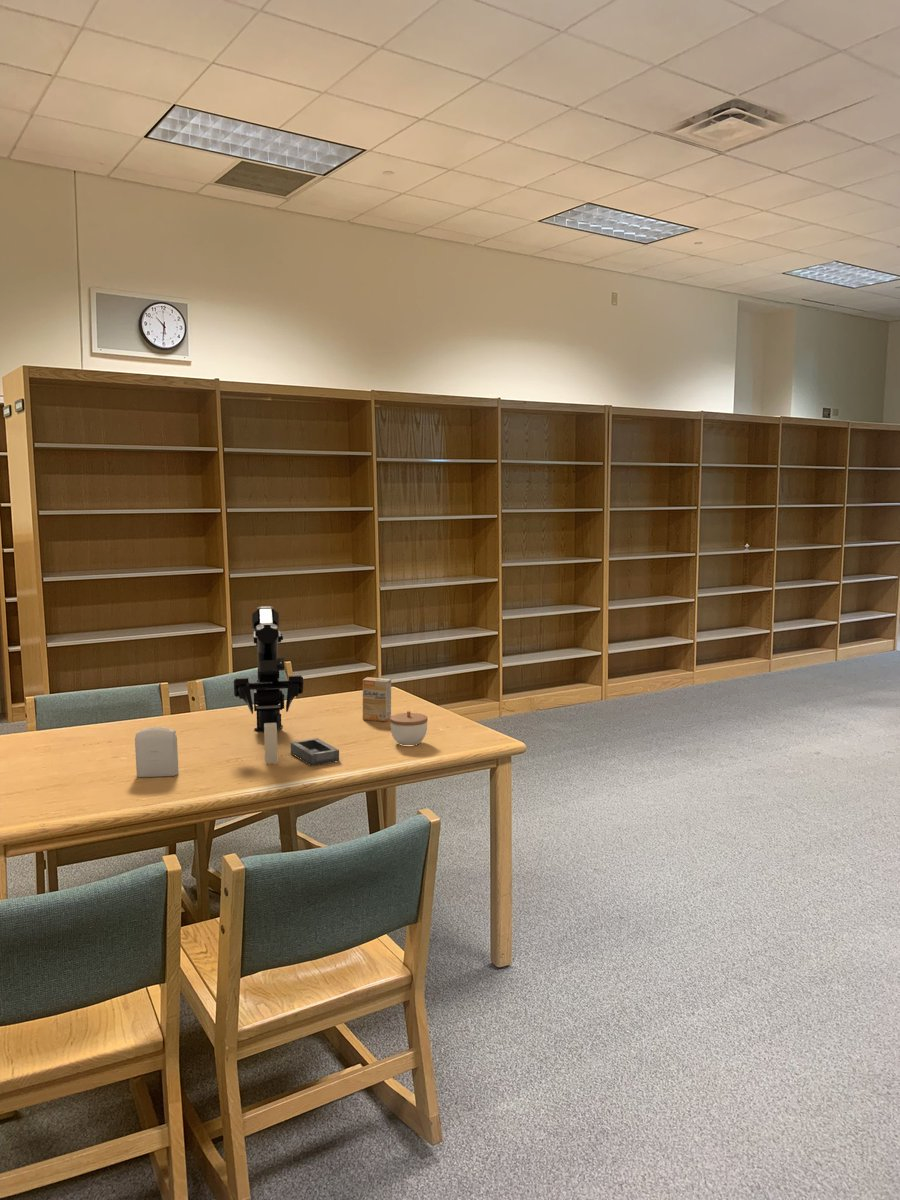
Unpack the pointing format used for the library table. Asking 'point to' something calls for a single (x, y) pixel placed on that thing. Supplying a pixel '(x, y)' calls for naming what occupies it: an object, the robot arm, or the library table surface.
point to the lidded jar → (408, 727)
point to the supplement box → (376, 699)
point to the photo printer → (156, 752)
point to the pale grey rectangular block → (270, 742)
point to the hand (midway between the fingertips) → (269, 712)
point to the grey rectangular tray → (314, 751)
